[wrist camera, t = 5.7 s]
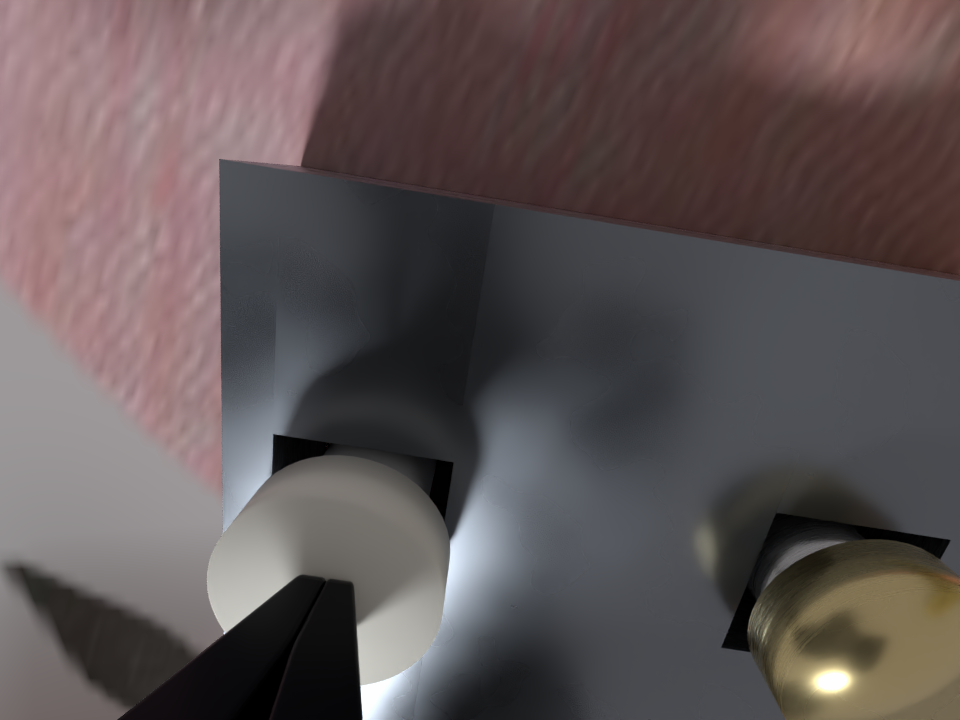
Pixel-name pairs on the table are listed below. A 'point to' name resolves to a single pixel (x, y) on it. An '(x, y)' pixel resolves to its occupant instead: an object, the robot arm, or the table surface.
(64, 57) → the table surface
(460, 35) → the table surface
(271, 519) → the knob ivory
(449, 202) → the mount
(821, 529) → the knob brass
